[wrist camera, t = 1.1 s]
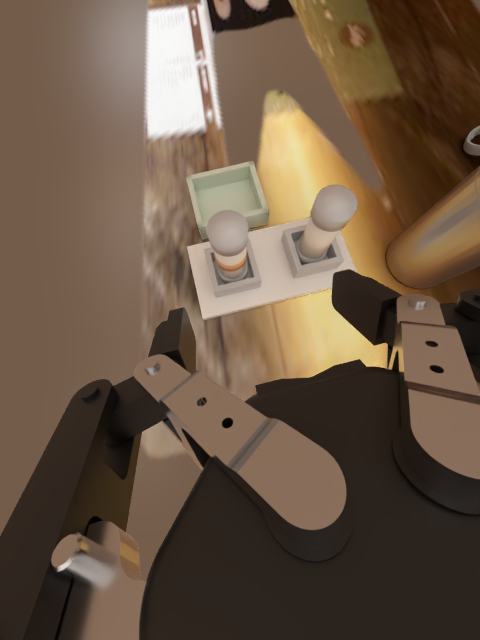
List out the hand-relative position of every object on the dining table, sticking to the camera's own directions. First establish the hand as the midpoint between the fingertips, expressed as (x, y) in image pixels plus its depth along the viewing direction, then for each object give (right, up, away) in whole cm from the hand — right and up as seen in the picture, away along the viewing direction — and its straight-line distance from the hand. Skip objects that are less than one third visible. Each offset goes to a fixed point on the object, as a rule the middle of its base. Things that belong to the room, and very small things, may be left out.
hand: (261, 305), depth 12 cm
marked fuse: (-2, +7, +22) cm, 24 cm away
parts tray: (-3, +18, +26) cm, 32 cm away
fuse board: (+4, +8, +24) cm, 25 cm away
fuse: (+9, +9, +23) cm, 26 cm away
